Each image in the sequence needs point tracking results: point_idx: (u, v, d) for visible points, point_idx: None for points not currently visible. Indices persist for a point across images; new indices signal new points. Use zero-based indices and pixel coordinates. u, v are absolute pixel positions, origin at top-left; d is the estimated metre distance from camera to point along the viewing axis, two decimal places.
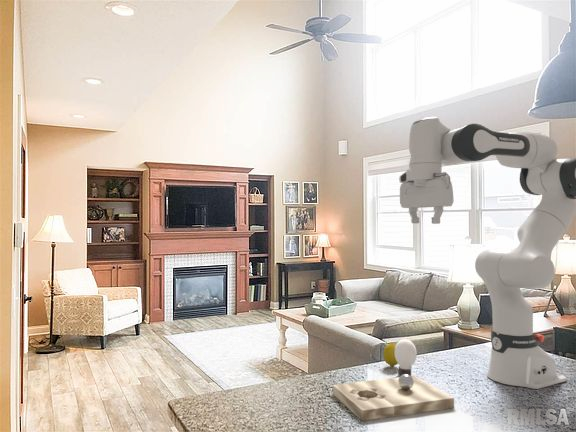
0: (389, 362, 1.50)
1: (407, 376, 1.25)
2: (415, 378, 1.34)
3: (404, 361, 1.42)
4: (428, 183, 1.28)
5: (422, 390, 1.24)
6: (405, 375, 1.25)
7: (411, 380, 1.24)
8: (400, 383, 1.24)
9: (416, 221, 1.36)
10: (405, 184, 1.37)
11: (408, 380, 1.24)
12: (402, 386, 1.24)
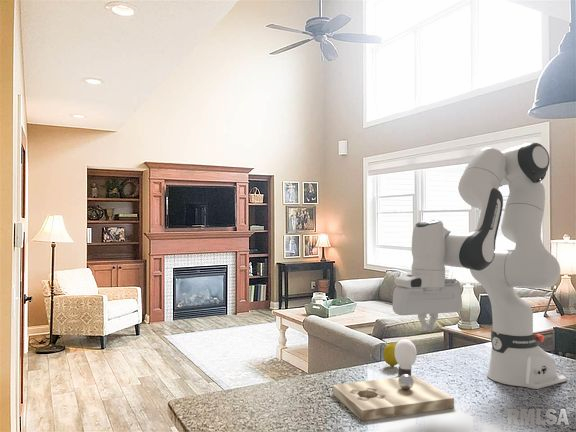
0: (389, 362, 1.50)
1: (407, 376, 1.25)
2: (415, 378, 1.34)
3: (404, 361, 1.42)
4: (444, 289, 1.27)
5: (422, 390, 1.24)
6: (405, 375, 1.25)
7: (411, 380, 1.24)
8: (400, 383, 1.24)
9: None
10: (415, 290, 1.23)
11: (408, 380, 1.24)
12: (402, 386, 1.24)
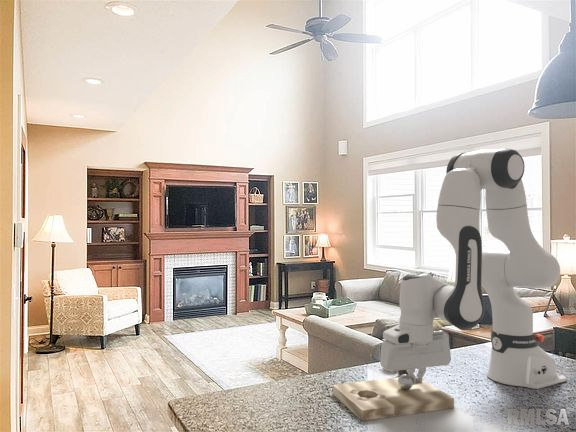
0: None
1: (406, 376, 1.24)
2: None
3: None
4: (432, 343, 1.26)
5: (422, 390, 1.24)
6: (404, 375, 1.25)
7: (410, 380, 1.24)
8: (400, 384, 1.24)
9: None
10: (403, 345, 1.22)
11: (407, 380, 1.24)
12: (402, 387, 1.24)
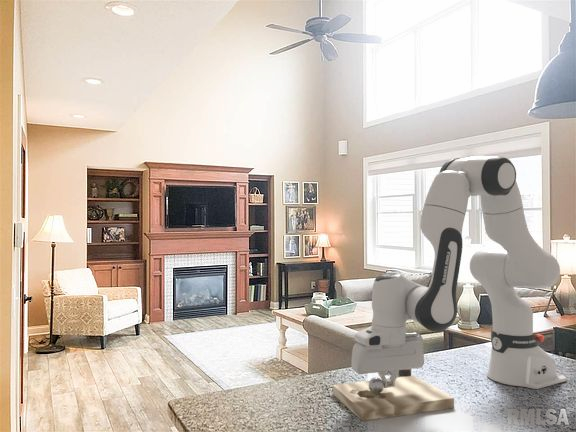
0: None
1: (383, 387, 1.22)
2: (415, 378, 1.34)
3: None
4: (405, 345, 1.23)
5: (422, 390, 1.24)
6: None
7: (381, 390, 1.21)
8: (378, 378, 1.22)
9: None
10: (374, 348, 1.19)
11: (383, 387, 1.21)
12: (376, 380, 1.22)
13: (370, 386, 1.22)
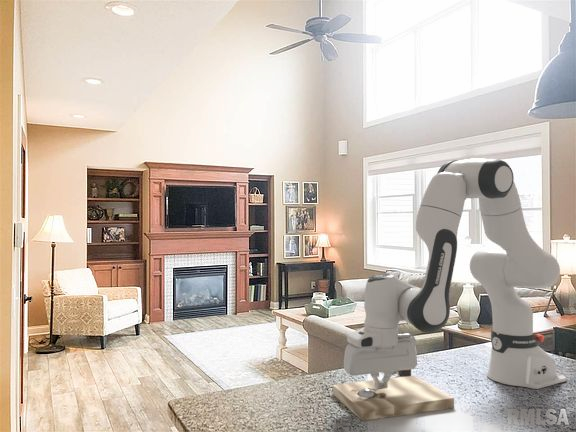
0: None
1: (364, 392, 1.21)
2: (415, 378, 1.34)
3: None
4: (397, 346, 1.23)
5: (422, 390, 1.24)
6: (362, 391, 1.21)
7: (369, 394, 1.20)
8: None
9: None
10: (366, 349, 1.19)
11: (366, 396, 1.20)
12: None
13: None
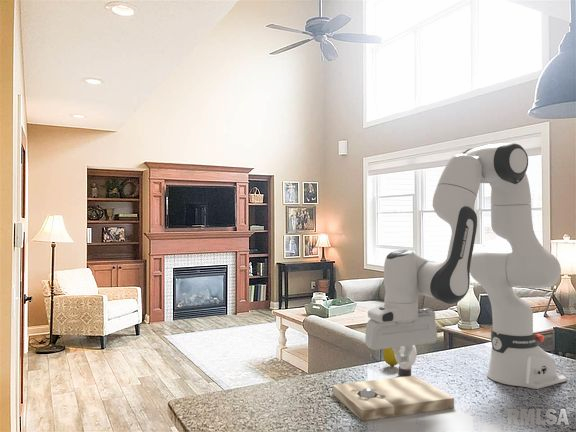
0: (389, 362, 1.50)
1: (366, 391, 1.21)
2: (415, 378, 1.34)
3: None
4: (417, 321, 1.25)
5: (422, 390, 1.24)
6: (364, 390, 1.21)
7: (371, 394, 1.20)
8: None
9: None
10: (387, 324, 1.21)
11: (368, 395, 1.20)
12: None
13: None
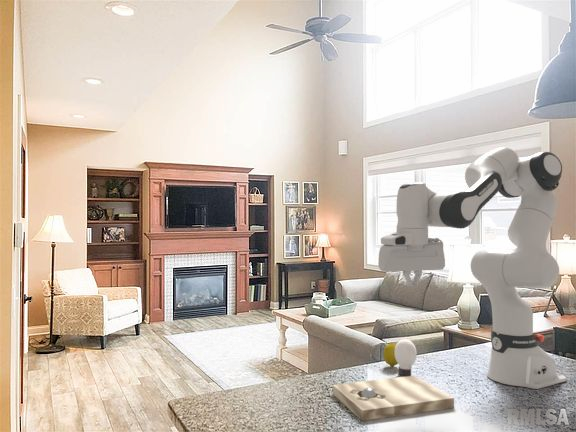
0: (389, 362, 1.50)
1: (368, 390, 1.21)
2: (415, 378, 1.34)
3: (404, 361, 1.42)
4: (427, 248, 1.34)
5: (422, 390, 1.24)
6: (366, 390, 1.21)
7: (373, 394, 1.21)
8: None
9: None
10: (400, 247, 1.30)
11: (369, 394, 1.20)
12: None
13: None
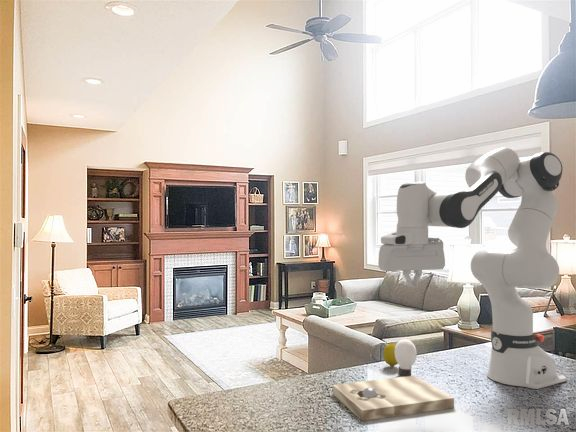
0: (389, 362, 1.50)
1: (370, 390, 1.21)
2: (415, 378, 1.34)
3: (404, 361, 1.42)
4: (427, 247, 1.34)
5: (422, 390, 1.24)
6: (368, 389, 1.21)
7: (374, 394, 1.21)
8: None
9: None
10: (400, 246, 1.30)
11: (371, 394, 1.20)
12: None
13: None
